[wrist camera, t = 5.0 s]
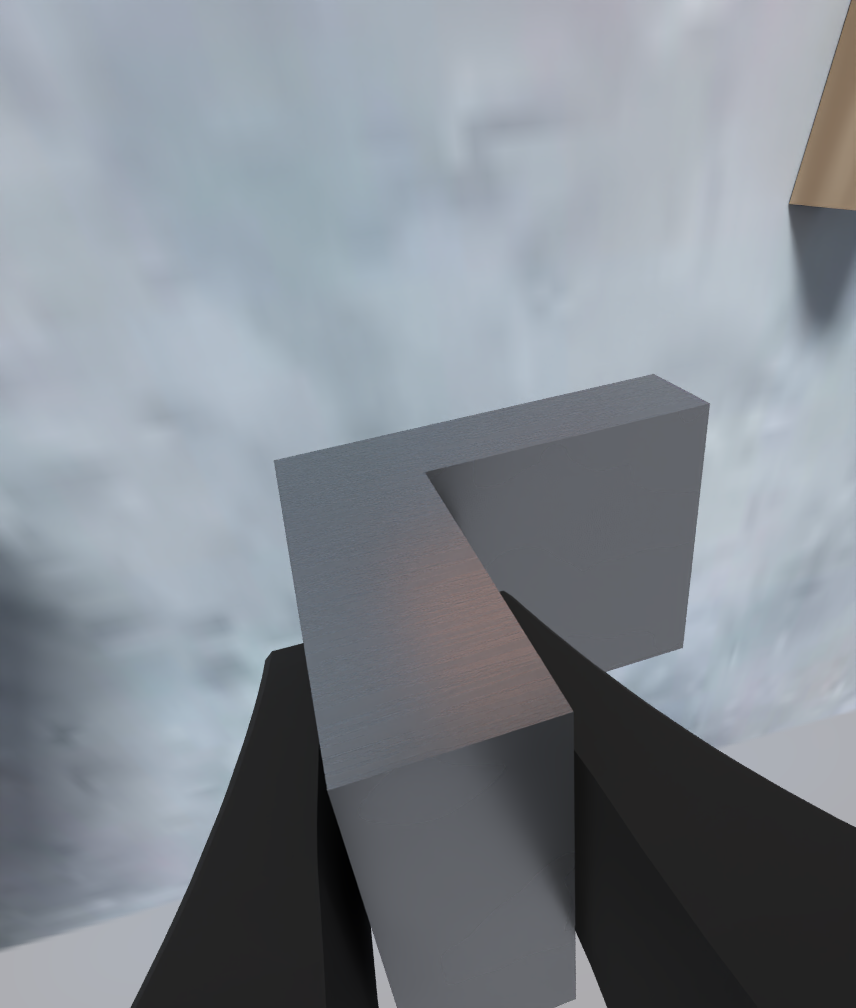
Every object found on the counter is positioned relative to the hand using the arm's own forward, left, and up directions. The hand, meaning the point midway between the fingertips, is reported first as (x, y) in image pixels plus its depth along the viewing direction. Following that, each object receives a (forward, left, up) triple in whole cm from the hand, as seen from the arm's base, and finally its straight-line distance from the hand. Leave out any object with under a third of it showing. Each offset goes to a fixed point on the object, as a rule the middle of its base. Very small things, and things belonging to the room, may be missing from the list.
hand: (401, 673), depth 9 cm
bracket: (+2, 0, -3) cm, 3 cm away
